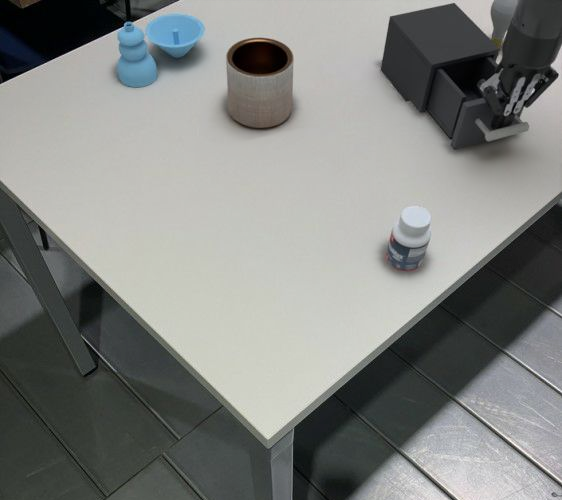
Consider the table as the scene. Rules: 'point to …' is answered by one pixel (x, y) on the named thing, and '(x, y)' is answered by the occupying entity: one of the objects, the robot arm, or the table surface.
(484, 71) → the pull-out drawer
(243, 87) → the planter
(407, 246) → the pill bottle
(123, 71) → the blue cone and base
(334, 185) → the table surface
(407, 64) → the small drawer cabinet
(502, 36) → the light bulb
